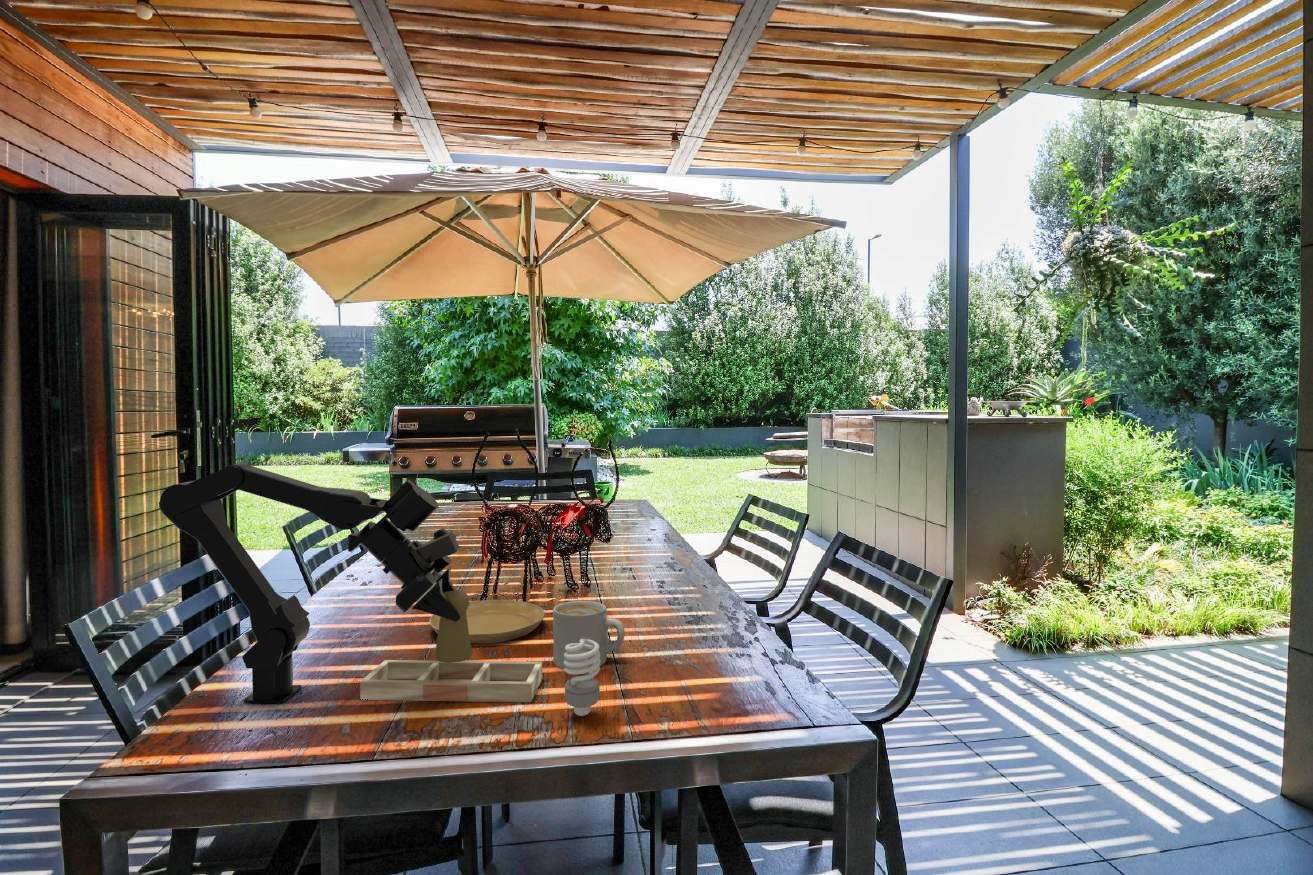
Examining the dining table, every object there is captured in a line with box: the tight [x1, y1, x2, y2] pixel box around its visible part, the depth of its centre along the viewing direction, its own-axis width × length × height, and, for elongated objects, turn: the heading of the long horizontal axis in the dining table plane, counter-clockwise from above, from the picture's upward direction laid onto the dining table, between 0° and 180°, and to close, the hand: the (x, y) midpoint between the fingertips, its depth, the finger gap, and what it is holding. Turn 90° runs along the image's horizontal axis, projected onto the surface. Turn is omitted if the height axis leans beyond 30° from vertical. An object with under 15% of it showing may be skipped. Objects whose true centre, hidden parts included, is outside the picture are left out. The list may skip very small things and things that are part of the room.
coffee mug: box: [552, 600, 625, 669], centre depth 135 cm, size 13×10×10 cm
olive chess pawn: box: [434, 590, 473, 663], centre depth 121 cm, size 6×6×11 cm
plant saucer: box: [428, 599, 545, 645], centre depth 155 cm, size 24×24×3 cm
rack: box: [359, 659, 543, 703], centre depth 122 cm, size 10×28×3 cm, turn 89°
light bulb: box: [563, 639, 601, 718], centre depth 111 cm, size 6×6×12 cm
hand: (461, 614), depth 121 cm, fingers closed on olive chess pawn, 5 cm apart
